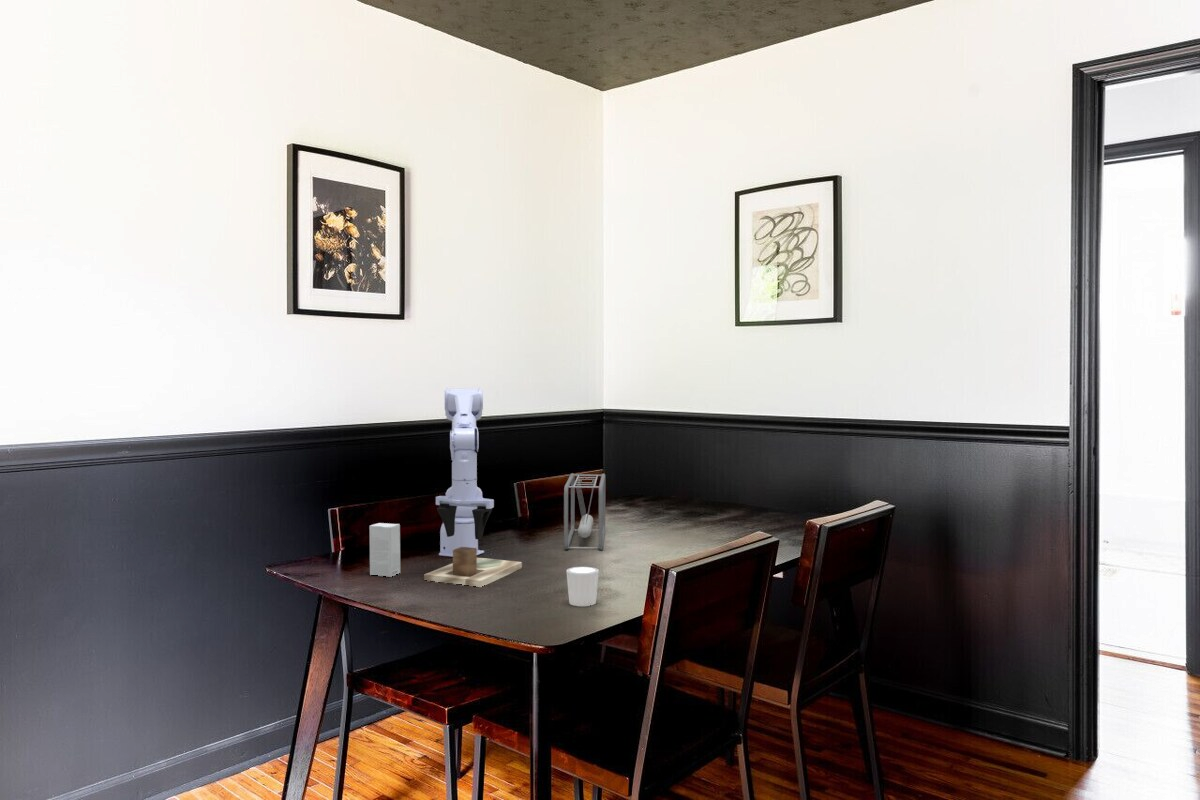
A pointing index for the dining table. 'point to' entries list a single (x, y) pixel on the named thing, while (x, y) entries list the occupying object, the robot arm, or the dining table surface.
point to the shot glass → (582, 585)
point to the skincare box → (384, 549)
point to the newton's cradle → (587, 519)
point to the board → (485, 572)
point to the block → (465, 561)
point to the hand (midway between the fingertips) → (464, 537)
